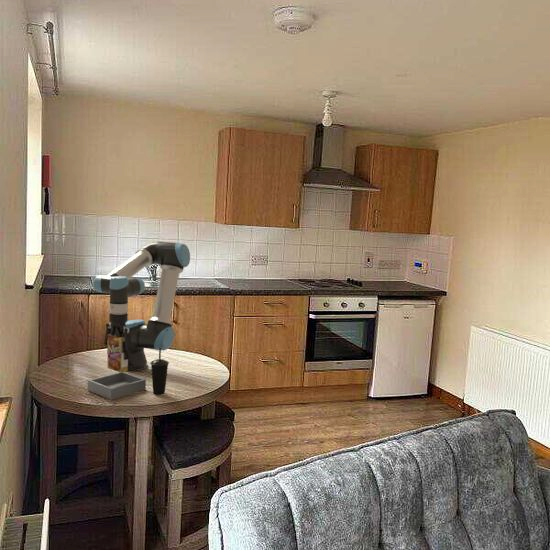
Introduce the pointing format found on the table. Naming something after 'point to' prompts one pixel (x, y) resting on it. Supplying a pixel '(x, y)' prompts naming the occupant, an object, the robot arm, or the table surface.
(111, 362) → the candy box
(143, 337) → the robot arm
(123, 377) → the tray
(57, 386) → the table surface
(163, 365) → the drinking cup
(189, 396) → the table surface
